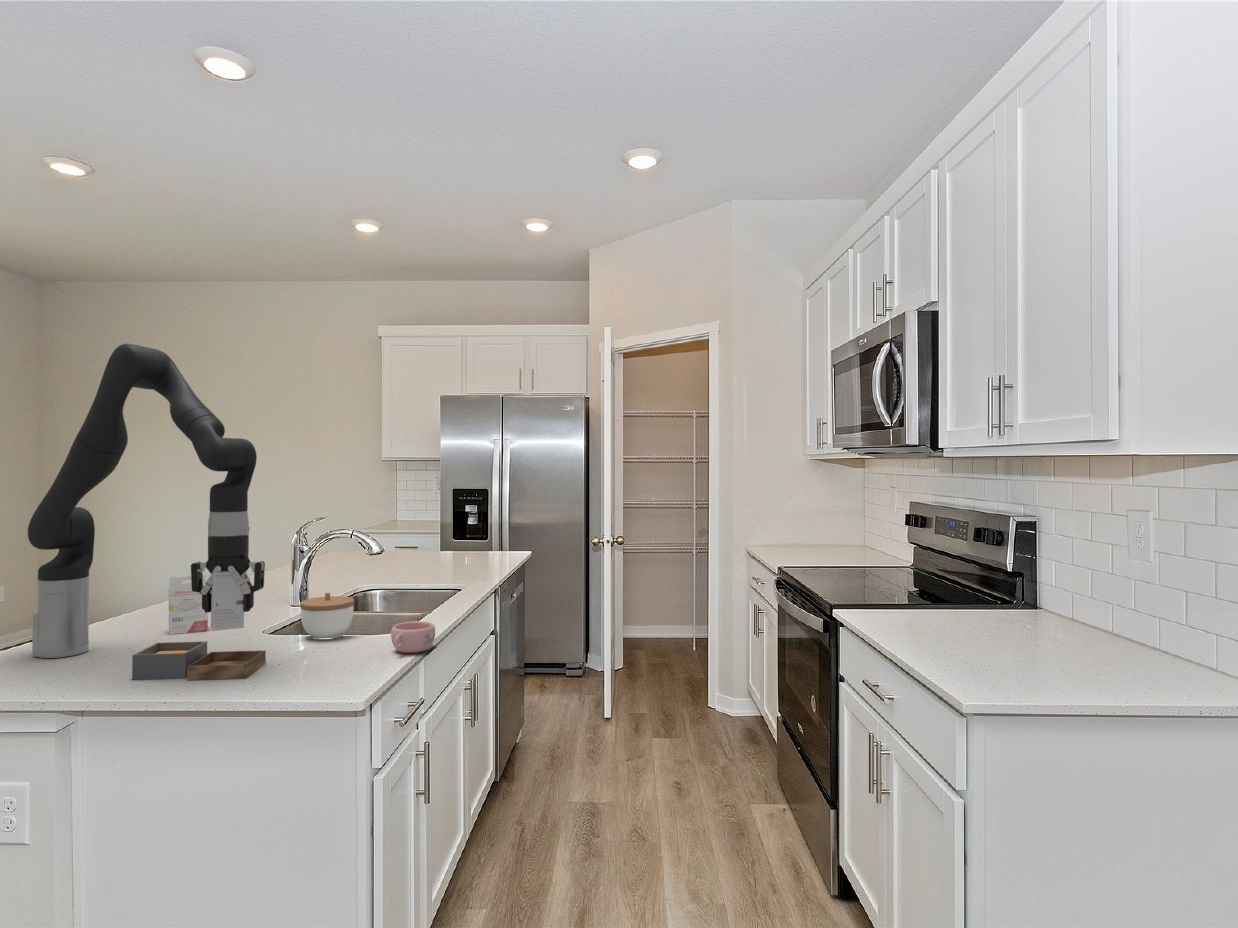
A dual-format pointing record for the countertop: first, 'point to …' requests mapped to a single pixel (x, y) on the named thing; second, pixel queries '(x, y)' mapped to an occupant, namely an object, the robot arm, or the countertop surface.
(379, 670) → the countertop surface
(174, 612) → the ink cartridge box
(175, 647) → the tray
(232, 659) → the wooden square tray
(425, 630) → the mug
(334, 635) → the lidded bowl
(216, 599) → the skincare box
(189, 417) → the robot arm
